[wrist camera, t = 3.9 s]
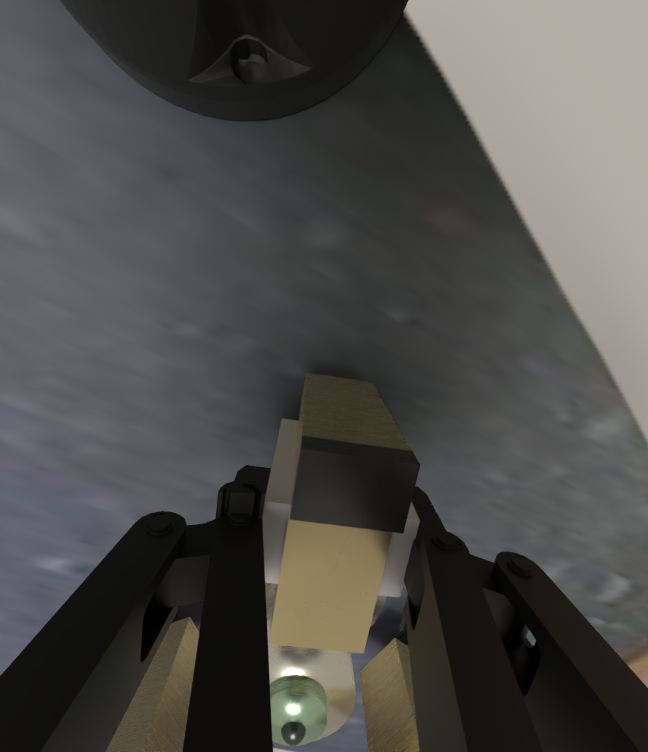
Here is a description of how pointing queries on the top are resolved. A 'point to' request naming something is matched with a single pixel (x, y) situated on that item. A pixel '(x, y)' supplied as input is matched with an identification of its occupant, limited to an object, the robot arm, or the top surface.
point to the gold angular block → (340, 515)
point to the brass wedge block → (161, 696)
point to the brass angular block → (389, 701)
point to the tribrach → (309, 686)
